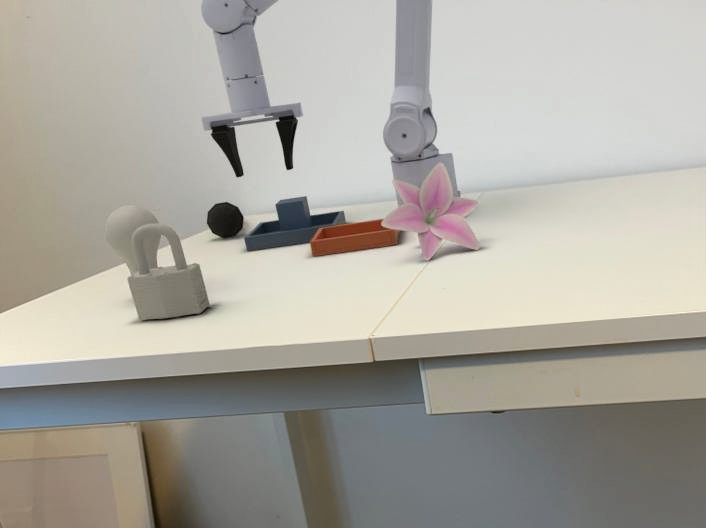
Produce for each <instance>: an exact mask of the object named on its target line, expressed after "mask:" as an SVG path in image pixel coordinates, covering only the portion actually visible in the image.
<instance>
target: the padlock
mask: <svg viewBox="0 0 706 528" xmlns="http://www.w3.org/2000/svg"><path fill="white" fill-rule="evenodd" d="M150 234H161V236H164V237H165V238H166V240H167V242H168V244H169V246H170V250H171V253H172V257H173V261H174V264H175V265H168V266H158V268H155V269H149V266H148V263H147V259H146V256H145V252H144V249H143V238H144V237H145V236H147V235H150ZM131 244H132V250H133V254H134V257H135V261H136V264H137V267H138V272H136V273H134V274H133V275H131V274H130V275H129V276H127V283H128V286H129V290H130V293H131V297H132V300H133V304H134V307H135V311H136V315H137V316H138V317H137V318H138V320H140V321H146V320H157V319H158V320H164V319H169V318H170V319H171V318H181V317H182V316H189V315H194V314H195V315H200V314H201V313H203V311H204V310H206V309H207V308H208V307H209V306H210V305H211V304H210V300H209V296H208V292H207V288H206V284H205V280H204V276H203V272H202V269H201V265H200V263H196V262H193V263H192V264H191V263H190V264H187V261H186V256H185V252H184V248H183V246H182V242H181V239H180V238H179V235H178V233H177V232H176V230H174V229H173V228H172V227H171V226H169V225H167V224H165V223H160V222H159V223H152V224H146V225H143V226H141V227H139V228H137V229H136V231H135V232H134V233H133V235H132V239H131Z"/></svg>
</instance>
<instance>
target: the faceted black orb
mask: <svg viewBox="0 0 706 528" xmlns="http://www.w3.org/2000/svg"><path fill="white" fill-rule="evenodd" d="M241 211H242V210H240V208H239V206H237V205H234V204H233V203H231V202H229V201H224V202H217V203H214V205H213V206H212V207H211V208H209V210H208V211H207V216H206V225H207V226H208V228H209V229H210V231H211V233H212V234H213V235H216V236H218V237H219V238H222V239H228V238H234V237H236V236H237V235H238V234H239V233H240V232H241V231H242V230H243V228H244V219H245V217H244V214H243V213H242V212H241Z"/></svg>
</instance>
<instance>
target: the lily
mask: <svg viewBox="0 0 706 528" xmlns="http://www.w3.org/2000/svg"><path fill="white" fill-rule="evenodd" d="M391 181H392V185H393V187H394V189H396V190H397V192H398V194H399V195H400V197H401V199H402V200H403V202H404V203H405V204H402V205H401V206H399V207H398V206H397V207H396V208H395V209H393V210H392V211H391V212H390V213H388V215H386V216H385V217H384V218H383V219H384V220H383V221H382V222H381V225H382V226H383V227H386V228H389V229H396V230H400V231H403V232H411V233H415V234H416V233H417V238H418V243H419V247H420V249H421V253H422V256H423V259H424V260H425V261H426V262H428V261H430V260H431V258H432V257H434V255H435V254H436V252H437V250H439V248H440V245H441V244H442V242H443V240H445V241H448V242H451V243H454V244H457V245H459V246H462V247H465V248H468V249H471V250H475V251H479V250H480V248H481V247H480V243H479V241H478V238H477V236H476V234H475V232H474V231H473V229H472V227H471V226H470V225H469V222H467V221H466V220H465V217H466V216H468V215H469V214H470V213H472V212H473V211H474V210H476V208H477V207H478V206H480V205H479V204H480V202H479V201H477V200H475V199H472V198H468V197H462V196H461V197H453V189H452V185H451V181H450V178H449V175H448V172H447V169H446V167H445V166H444V164H443V163H438V164H437V165H436V166H435V167H434V168H433V169H432V170H431V172H430V173H429V175H428V176H427V178H426V179H425V181H424V182H423V184H422V186H421V189H420V188H418V187H416V186H414V185H412V184H409V183H406V182H403V181H400V180H394V179H392V180H391ZM396 190H395V191H396Z"/></svg>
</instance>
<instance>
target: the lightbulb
mask: <svg viewBox="0 0 706 528" xmlns="http://www.w3.org/2000/svg"><path fill="white" fill-rule="evenodd" d="M152 223H159V224H160V222H159V220H158V219H157V217H156V216H155V214H154V213H153V212H152V211H150V210H148V209H147V208H145V207H142V206H140V205H139V206H138V205H133V204H132V205H131V204H128V205H124V206H123V205H122V206H120V207H119V208H117V209H115V210H113V212H111V213H110V215H109V216H108V218H107V219H106V222H105V225H104V226H105V227H104V234H105V239H106V241H107V242H108V244H109V246H110V247H111V248H112V250H113V251H114V252H115V253H116V254H117V255H118V256H119V257H120V258H121V259H122V261H123V262H124V263H125V265H126V267H127V268H128V269H129V270H128V271H129V273H130V275H133V274H134V273H136V272H138V267H137V264H136V261H135V257H134V254H133V250H132V244H131V239H132V235H133V233H134V232H135V231H136V229H137V228H139V227H141V226H143V225H146V224H152ZM161 237H162V235H161V234H150V235H147V236H145V237H144V238H143V249H144V252H145V256H146V259H147V263H148V266H149V269H155V268H158V267H159V265H158V249H159V247H160V243H161V239H162V238H161Z"/></svg>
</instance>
